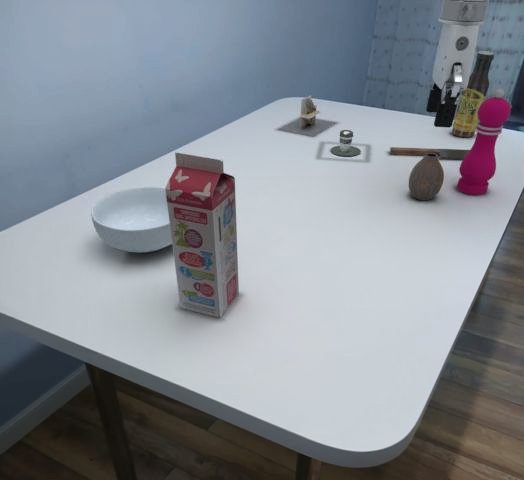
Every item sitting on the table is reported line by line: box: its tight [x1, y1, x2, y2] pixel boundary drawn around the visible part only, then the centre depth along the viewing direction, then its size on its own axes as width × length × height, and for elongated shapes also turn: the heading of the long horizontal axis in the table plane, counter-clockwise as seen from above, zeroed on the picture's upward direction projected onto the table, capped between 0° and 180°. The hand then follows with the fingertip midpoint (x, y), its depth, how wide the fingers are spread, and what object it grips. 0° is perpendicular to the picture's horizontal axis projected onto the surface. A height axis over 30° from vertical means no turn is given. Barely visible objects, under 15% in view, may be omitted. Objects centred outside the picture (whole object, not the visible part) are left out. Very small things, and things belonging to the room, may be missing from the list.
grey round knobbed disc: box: [329, 129, 362, 157], centre depth 125 cm, size 12×12×5 cm
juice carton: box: [164, 151, 240, 319], centre depth 69 cm, size 7×7×22 cm
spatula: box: [389, 146, 471, 161], centre depth 124 cm, size 21×6×1 cm, turn 84°
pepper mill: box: [456, 88, 512, 196], centre depth 102 cm, size 7×7×20 cm
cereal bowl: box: [90, 186, 172, 254], centre depth 88 cm, size 17×17×7 cm
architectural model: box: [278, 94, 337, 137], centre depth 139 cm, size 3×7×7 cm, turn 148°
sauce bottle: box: [451, 50, 496, 138], centre depth 130 cm, size 7×6×20 cm
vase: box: [408, 153, 445, 201], centre depth 103 cm, size 7×7×9 cm
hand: (438, 119), depth 95 cm, fingers open, 9 cm apart
